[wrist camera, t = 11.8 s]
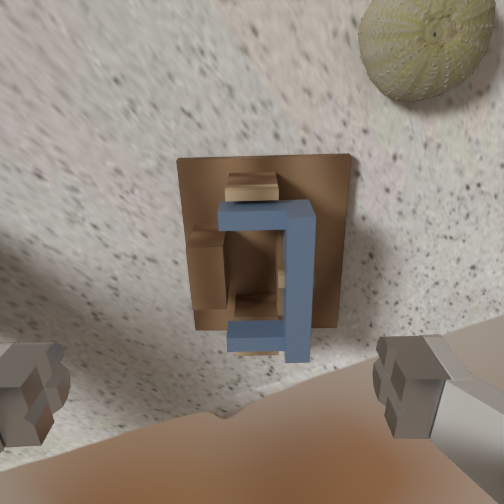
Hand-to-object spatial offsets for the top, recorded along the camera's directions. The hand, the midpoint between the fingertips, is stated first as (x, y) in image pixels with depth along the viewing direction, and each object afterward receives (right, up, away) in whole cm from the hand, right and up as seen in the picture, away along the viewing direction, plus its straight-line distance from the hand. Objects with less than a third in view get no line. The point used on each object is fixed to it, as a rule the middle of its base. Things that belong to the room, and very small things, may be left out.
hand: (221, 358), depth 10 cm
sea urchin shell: (+13, +20, +20) cm, 31 cm away
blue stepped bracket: (+2, +1, +23) cm, 23 cm away
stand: (+2, +3, +27) cm, 28 cm away
